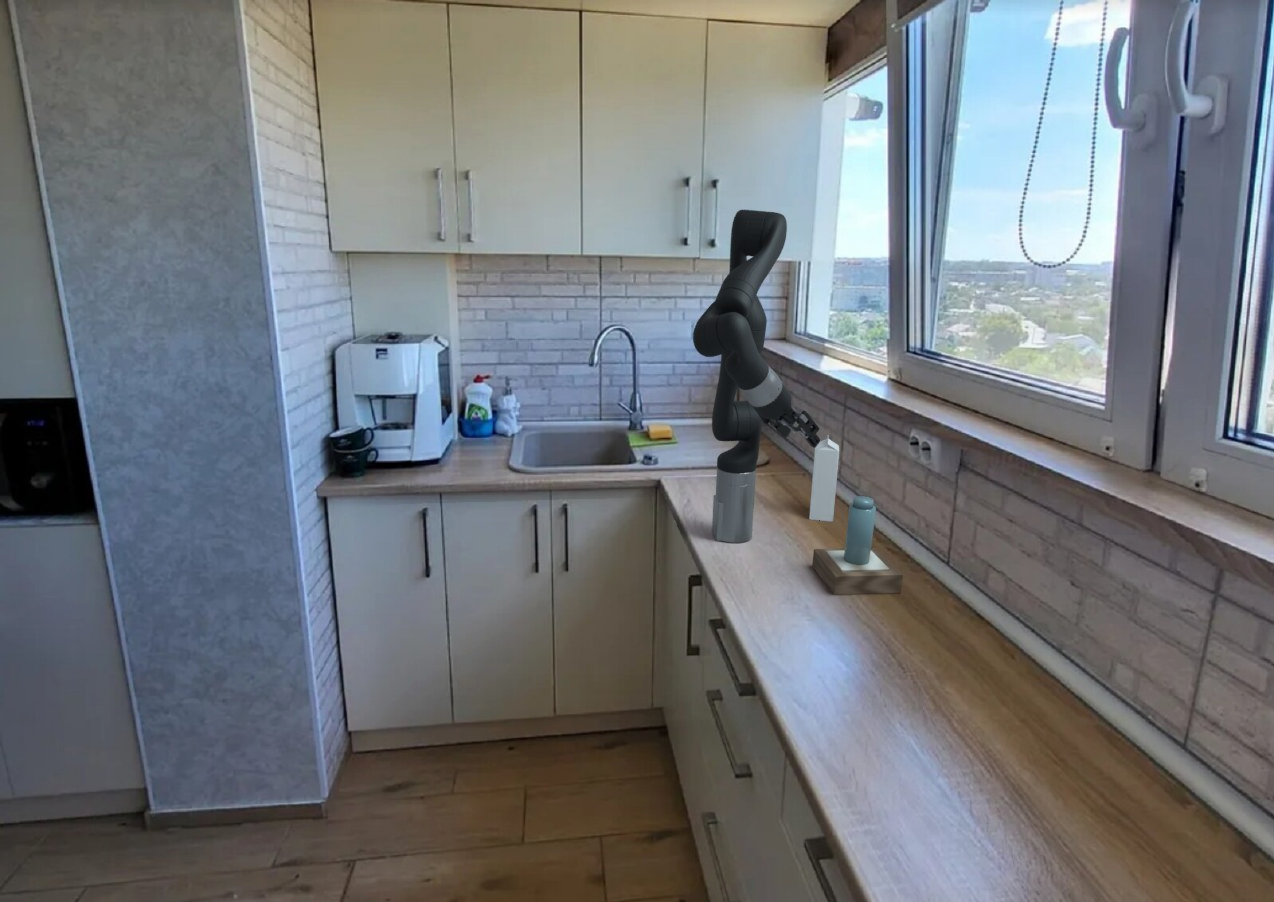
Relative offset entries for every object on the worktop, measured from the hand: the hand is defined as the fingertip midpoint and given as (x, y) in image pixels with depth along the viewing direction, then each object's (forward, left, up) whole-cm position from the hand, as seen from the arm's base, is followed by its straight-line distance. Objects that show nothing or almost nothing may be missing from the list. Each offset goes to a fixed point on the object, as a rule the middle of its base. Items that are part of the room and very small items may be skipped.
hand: (801, 439), depth 154 cm
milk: (+17, +30, -29) cm, 45 cm away
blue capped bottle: (+12, -7, -25) cm, 28 cm away
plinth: (+12, -7, -29) cm, 32 cm away
